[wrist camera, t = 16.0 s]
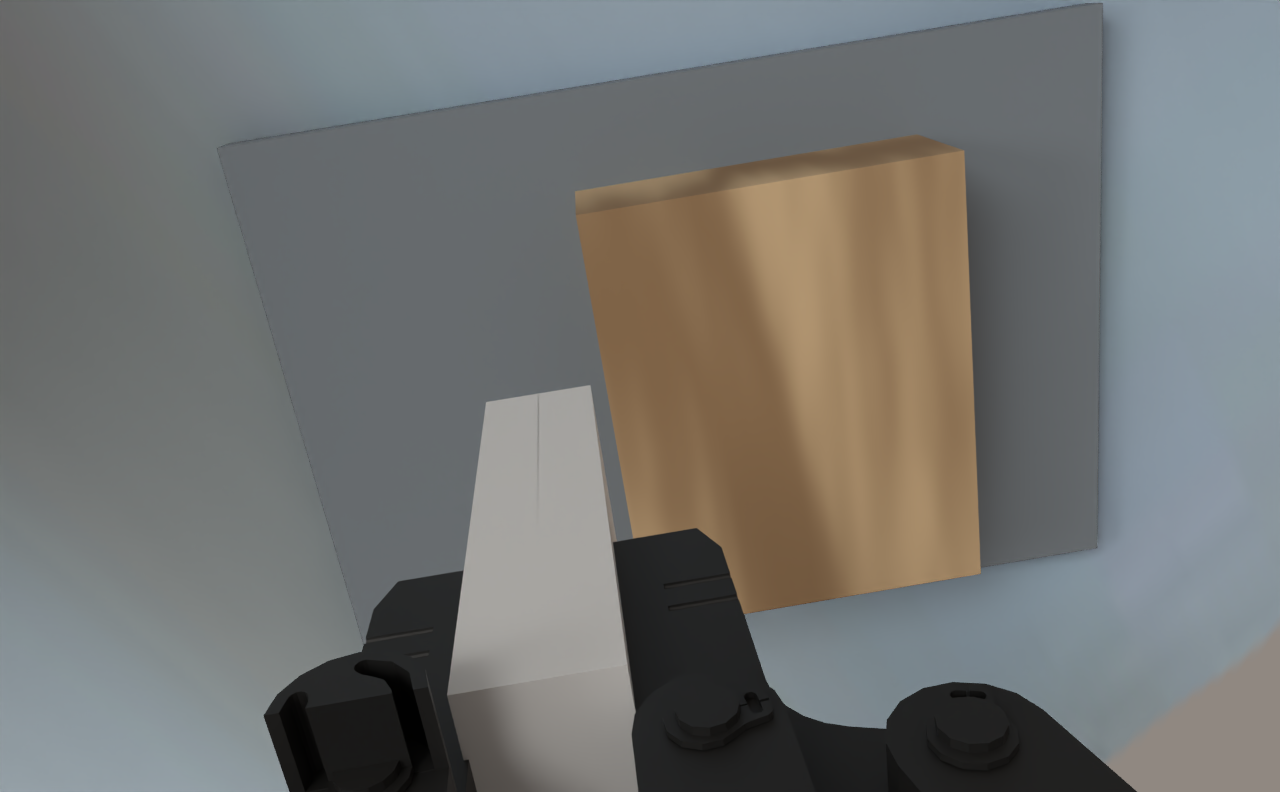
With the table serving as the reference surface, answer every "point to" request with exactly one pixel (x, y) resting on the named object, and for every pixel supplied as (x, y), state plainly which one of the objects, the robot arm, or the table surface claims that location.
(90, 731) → the table surface
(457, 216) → the mat
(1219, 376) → the table surface
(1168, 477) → the table surface
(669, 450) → the slab
